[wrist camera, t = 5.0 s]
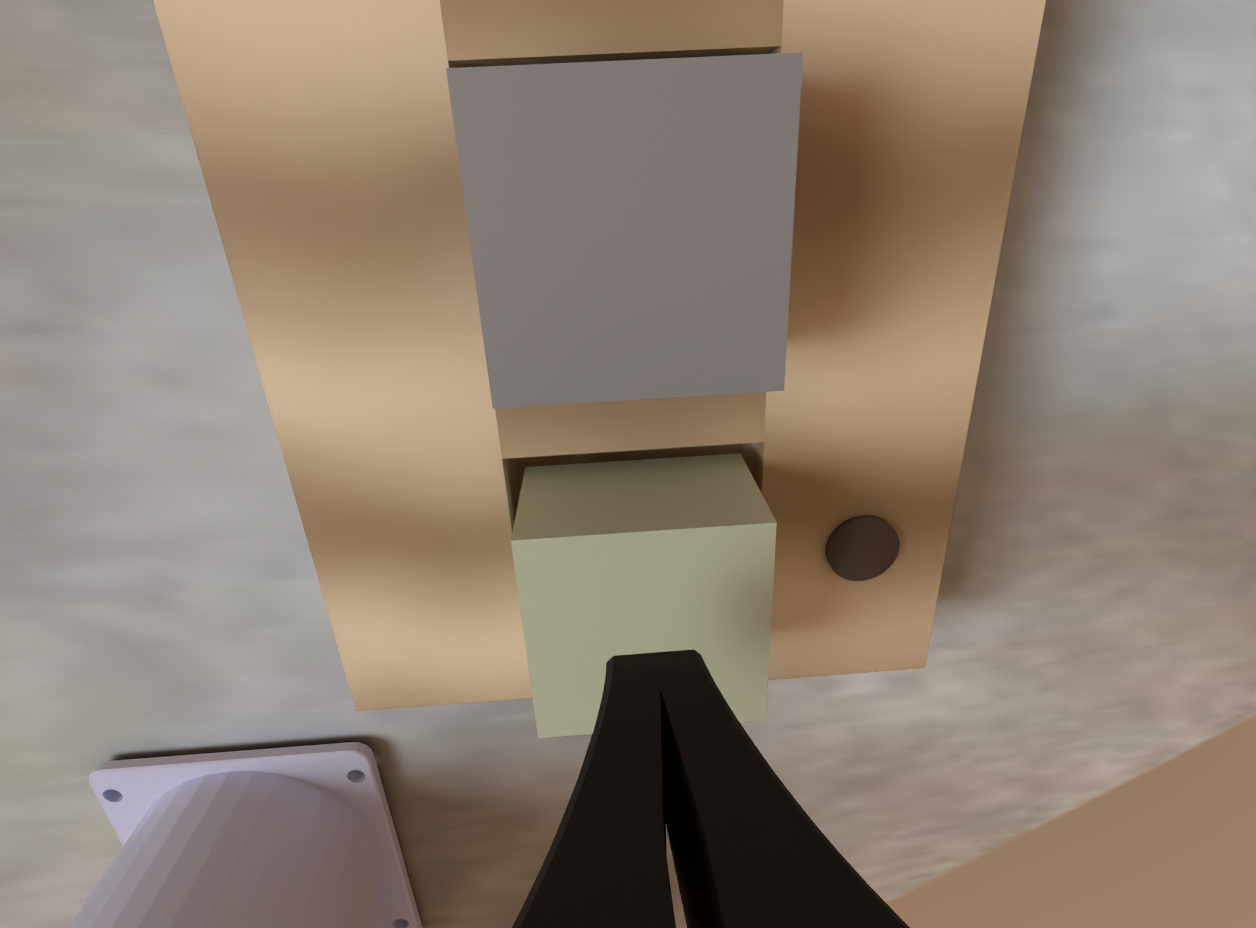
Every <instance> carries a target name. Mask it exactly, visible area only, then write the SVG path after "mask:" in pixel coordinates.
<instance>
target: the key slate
mask: <svg viewBox="0 0 1256 928" xmlns="http://www.w3.org/2000/svg"><path fill="white" fill-rule="evenodd" d="M802 61H803V52H802V53H779V54H757V55H734V56H711V57H689V58H666V59H644V60H621V61H598V62H576V63H553V64H531V65H508V66H486V67H463V68H446V72H447V80H448V87H449V94H450V101H451V109H452V116H453V123H454V130H455V138H456V145H457V152H458V160H459V167H460V174H461V181H462V189H463V196H464V203H465V211H466V218H467V225H468V232H469V240H470V247H471V254H472V262H473V269H474V276H475V283H476V291H477V298H478V305H479V312H480V320H481V327H482V334H483V342H484V349H485V356H486V363H487V371H488V378H489V385H490V393H491V400H492V407H493V409H494V408H510V407H526V406H542V405H559V404H575V403H591V402H608V401H624V400H640V399H657V398H673V397H689V396H706V395H722V394H738V393H754V392H771V391H784V384H785V366H786V348H787V330H788V312H789V294H790V276H791V258H792V240H793V223H794V205H795V187H796V169H797V151H798V133H799V115H800V97H801V79H802Z"/></svg>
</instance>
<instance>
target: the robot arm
mask: <svg viewBox="0 0 1256 928" xmlns="http://www.w3.org/2000/svg"><path fill="white" fill-rule="evenodd" d="M356 770H359V771H356ZM360 771H361V772H360ZM89 782H90V785H91V787H92V789H93V791H94V793H95V794H96V796H97V798H98V800H99V802H100V804H101V805H102V807H103V809H104V811H105V813H106V815H107V817H108V818H109V820H110V822H111V824H112V826H113V828H114V830H115V831H116V833H117V835H118V837H119V839H120V841H121V843H122V844H123V847H122V849H121V850H120V852H119V853H118V855H117V856H116V858H115V859H114V861H113V862H112V864H111V865H110V867H109V868H108V870H107V871H106V873H105V874H104V876H103V877H102V879H101V880H100V882H99V883H98V885H97V886H96V888H95V889H94V891H93V892H92V893H91V895H90V896H89V898H88V899H87V901H86V902H85V904H84V905H83V907H82V908H81V910H80V911H79V913H78V914H77V916H76V917H75V919H74V920H73V922H72V923H71V925H70V926H69V928H423V927H422V924H421V920H420V917H419V913H418V910H417V906H416V903H415V899H414V895H413V892H412V888H411V885H410V881H409V878H408V874H407V871H406V867H405V863H404V860H403V856H402V853H401V849H400V846H399V842H398V839H397V835H396V831H395V828H394V824H393V821H392V817H391V814H390V810H389V807H388V803H387V799H386V796H385V792H384V789H383V785H382V782H381V778H380V775H379V771H378V767H377V764H376V760H375V757H374V753H373V751H372V750H371V748H369V747H368V746H367V745H366V744H363V743H360V742H348V743H335V744H322V745H309V746H296V747H283V748H270V749H257V750H244V751H231V752H218V753H205V754H193V755H180V756H167V757H154V758H141V759H128V760H115V761H106V762H102V763H100V764H99V765H98V766H97V767H96V768H95V769H94V770H93V772H92V773H91V774H90V776H89ZM666 826H667V831H668V836H669V841H670V846H671V851H672V855H673V860H674V865H675V870H676V875H677V880H678V885H679V890H680V895H681V900H682V904H683V909H684V914H685V919H686V924H687V928H910V927H909V926H907V924H906V923H905V922H904V921H902V919H901V918H900V917H899V916H898V915H897V914H896V913H895V912H894V911H893V910H892V909H891V908H890V907H889V906H888V905H887V904H886V903H885V902H884V901H883V900H882V899H881V897H880V896H879V895H878V894H877V893H876V892H875V891H874V890H873V889H872V888H871V887H870V886H869V885H868V884H867V883H866V882H865V881H864V879H863V878H862V877H861V876H860V875H859V874H858V873H857V872H856V871H855V870H854V868H853V867H852V866H851V865H850V864H849V863H848V862H847V861H846V860H845V858H844V857H843V856H842V855H841V854H840V853H839V852H838V851H837V849H836V848H835V847H834V846H833V845H832V844H831V843H830V841H829V840H828V839H827V838H826V837H825V836H824V834H823V833H822V832H821V831H820V830H819V828H818V827H817V826H816V825H815V824H814V822H813V821H812V820H811V819H810V817H809V816H808V815H807V814H806V812H805V811H804V810H803V809H802V807H801V806H800V805H799V804H798V802H797V801H796V800H795V799H794V797H793V796H792V795H791V793H790V792H789V791H788V790H787V788H786V787H785V786H784V784H783V783H782V782H781V780H780V779H779V778H778V776H777V775H776V774H775V772H774V771H773V770H772V768H771V767H770V766H769V764H768V763H767V761H766V760H765V759H764V757H763V756H762V754H761V753H760V751H759V750H758V749H757V747H756V746H755V744H754V743H753V741H752V740H751V739H750V737H749V736H748V734H747V733H746V731H745V730H744V728H743V727H742V725H741V724H740V722H739V721H738V719H737V718H736V716H735V715H734V713H733V711H732V710H731V708H730V707H729V705H728V703H727V702H726V700H725V698H724V697H723V695H722V693H721V692H720V690H719V688H718V687H717V685H716V683H715V681H714V679H713V678H712V676H711V674H710V672H709V670H708V668H707V666H706V664H705V662H704V660H703V658H702V655H701V654H699V653H698V652H697V651H696V650H694V649H692V650H679V651H667V652H654V653H642V654H630V655H617V656H613V657H612V658H611V659H610V660H608V661H607V662H606V676H605V683H604V689H603V694H602V699H601V704H600V708H599V712H598V715H597V719H596V723H595V727H594V731H593V734H592V737H591V740H590V743H589V746H588V749H587V752H586V756H585V759H584V762H583V765H582V768H581V771H580V774H579V777H578V780H577V782H576V785H575V788H574V790H573V793H572V795H571V798H570V800H569V803H568V805H567V808H566V811H565V813H564V816H563V818H562V821H561V823H560V826H559V828H558V831H557V833H556V836H555V838H554V840H553V843H552V845H551V847H550V850H549V852H548V854H547V856H546V859H545V861H544V863H543V865H542V867H541V870H540V872H539V874H538V876H537V878H536V880H535V882H534V884H533V887H532V889H531V891H530V893H529V895H528V897H527V899H526V901H525V903H524V905H523V907H522V909H521V911H520V913H519V915H518V917H517V919H516V921H515V923H514V925H513V927H512V928H676V926H675V918H674V911H673V903H672V896H671V888H670V880H669V873H668V865H667V857H666Z"/></svg>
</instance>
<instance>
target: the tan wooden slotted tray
mask: <svg viewBox="0 0 1256 928" xmlns="http://www.w3.org/2000/svg"><path fill="white" fill-rule="evenodd" d="M153 1H154V5H155V8H156V12H157V15H158V19H159V22H160V26H161V29H162V33H163V36H164V40H165V43H166V47H167V50H168V54H169V57H170V61H171V64H172V68H173V71H174V75H175V78H176V82H177V85H178V89H179V92H180V96H181V99H182V103H183V106H184V110H185V113H186V117H187V120H188V124H189V127H190V131H191V134H192V138H193V141H194V145H195V148H196V152H197V155H198V159H199V162H200V166H201V169H202V173H203V176H204V180H205V183H206V187H207V190H208V194H209V197H210V201H211V204H212V208H213V211H214V215H215V218H216V222H217V225H218V229H219V232H220V236H221V239H222V243H223V246H224V250H225V253H226V257H227V260H228V264H229V267H230V271H231V274H232V278H233V281H234V285H235V288H236V292H237V295H238V299H239V302H240V306H241V309H242V313H243V316H244V320H245V323H246V327H247V330H248V334H249V337H250V341H251V344H252V348H253V351H254V355H255V358H256V362H257V365H258V369H259V372H260V376H261V379H262V383H263V386H264V390H265V393H266V397H267V400H268V404H269V407H270V411H271V414H272V418H273V421H274V425H275V428H276V432H277V435H278V439H279V442H280V446H281V449H282V453H283V456H284V460H285V463H286V467H287V470H288V474H289V477H290V481H291V484H292V488H293V491H294V495H295V498H296V502H297V505H298V509H299V512H300V516H301V519H302V523H303V526H304V530H305V533H306V537H307V540H308V544H309V547H310V551H311V554H312V558H313V561H314V565H315V568H316V572H317V575H318V579H319V582H320V586H321V590H322V593H323V597H324V600H325V604H326V607H327V611H328V614H329V618H330V621H331V625H332V628H333V632H334V635H335V639H336V642H337V646H338V649H339V653H340V656H341V660H342V663H343V667H344V670H345V674H346V677H347V681H348V684H349V688H350V691H351V695H352V698H353V702H354V705H355V709H356V711H365V710H378V709H391V708H404V707H418V706H431V705H444V704H457V703H470V702H483V701H497V700H510V699H523V698H532V691H531V684H530V677H529V669H528V662H527V655H526V647H525V640H524V633H523V626H522V618H521V611H520V604H519V596H518V589H517V582H516V575H515V567H514V560H513V553H512V545H511V537H512V532H513V527H514V522H515V517H516V512H517V507H518V502H519V497H520V492H521V487H522V482H523V476H524V471H525V467H535V466H551V465H566V464H582V463H597V462H613V461H628V460H644V459H660V458H675V457H691V456H706V455H722V454H737V453H741V455H742V457H743V459H744V461H745V463H746V465H747V467H748V469H749V471H750V473H751V474H752V476H753V478H754V480H755V482H756V484H757V486H758V488H759V490H760V492H761V494H762V495H763V497H764V499H765V501H766V503H767V505H768V507H769V509H770V511H771V513H772V514H773V516H774V518H775V520H776V522H777V527H776V545H775V563H774V580H773V598H772V616H771V634H770V652H769V670H768V680H774V679H787V678H800V677H813V676H826V675H839V674H853V673H866V672H879V671H892V670H905V669H919V668H925V664H926V659H927V653H928V648H929V642H930V637H931V631H932V625H933V620H934V614H935V609H936V603H937V598H938V592H939V587H940V581H941V576H942V570H943V565H944V559H945V554H946V548H947V543H948V537H949V532H950V526H951V521H952V515H953V510H954V504H955V499H956V493H957V488H958V482H959V477H960V471H961V466H962V460H963V455H964V449H965V444H966V438H967V433H968V427H969V422H970V416H971V411H972V405H973V400H974V394H975V389H976V383H977V377H978V372H979V366H980V361H981V355H982V350H983V344H984V339H985V333H986V328H987V322H988V317H989V311H990V306H991V300H992V295H993V289H994V284H995V278H996V273H997V267H998V262H999V256H1000V251H1001V245H1002V240H1003V234H1004V229H1005V223H1006V218H1007V212H1008V207H1009V201H1010V196H1011V190H1012V185H1013V179H1014V174H1015V168H1016V163H1017V157H1018V152H1019V146H1020V141H1021V135H1022V129H1023V124H1024V118H1025V113H1026V107H1027V102H1028V96H1029V91H1030V85H1031V80H1032V74H1033V69H1034V63H1035V58H1036V52H1037V47H1038V41H1039V36H1040V30H1041V25H1042V19H1043V14H1044V8H1045V3H1046V0H153ZM802 52H803V61H802V79H801V97H800V115H799V133H798V151H797V169H796V187H795V205H794V223H793V240H792V258H791V276H790V294H789V312H788V330H787V348H786V366H785V384H784V391H771V392H754V393H738V394H722V395H706V396H689V397H673V398H657V399H640V400H624V401H608V402H591V403H575V404H559V405H542V406H526V407H510V408H494V409H493V407H492V400H491V393H490V385H489V378H488V371H487V363H486V356H485V349H484V342H483V334H482V327H481V320H480V312H479V305H478V298H477V291H476V283H475V276H474V269H473V262H472V254H471V247H470V240H469V232H468V225H467V218H466V211H465V203H464V196H463V189H462V181H461V174H460V167H459V160H458V152H457V145H456V138H455V130H454V123H453V116H452V109H451V101H450V94H449V87H448V80H447V72H446V68H463V67H486V66H508V65H531V64H553V63H576V62H598V61H621V60H644V59H666V58H689V57H711V56H734V55H757V54H779V53H802Z"/></svg>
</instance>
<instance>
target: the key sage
mask: <svg viewBox="0 0 1256 928" xmlns="http://www.w3.org/2000/svg"><path fill="white" fill-rule="evenodd" d="M776 527H777V522H776V520H775V518H774V516H773V514H772V513H771V511H770V509H769V507H768V505H767V503H766V501H765V499H764V497H763V495H762V494H761V492H760V490H759V488H758V486H757V484H756V482H755V480H754V478H753V476H752V474H751V473H750V471H749V469H748V467H747V465H746V463H745V461H744V459H743V457H742V455H741V453H737V454H722V455H706V456H691V457H675V458H660V459H644V460H628V461H613V462H597V463H582V464H566V465H551V466H535V467H525V471H524V476H523V482H522V487H521V492H520V497H519V502H518V507H517V512H516V517H515V522H514V527H513V532H512V537H511V545H512V553H513V560H514V567H515V575H516V582H517V589H518V596H519V604H520V611H521V618H522V626H523V633H524V640H525V647H526V655H527V662H528V669H529V677H530V684H531V691H532V698H533V706H534V713H535V720H536V727H537V735H538V738H547V737H560V736H572V735H585V734H593V731H594V727H595V723H596V719H597V715H598V712H599V708H600V704H601V699H602V694H603V689H604V683H605V676H606V662H607V661H608V660H610V659H611V658H612V657H613V656H617V655H630V654H642V653H654V652H667V651H679V650H692V649H694V650H696V651H697V652H698V653H699V654H701V655H702V658H703V660H704V662H705V664H706V666H707V668H708V670H709V672H710V674H711V676H712V678H713V679H714V681H715V683H716V685H717V687H718V688H719V690H720V692H721V693H722V695H723V697H724V698H725V700H726V702H727V703H728V705H729V707H730V708H731V710H732V711H733V713H734V715H735V716H736V718H737V719H738V721H739V722H752V721H765V720H766V706H767V688H768V670H769V652H770V634H771V616H772V598H773V580H774V563H775V545H776Z"/></svg>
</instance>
